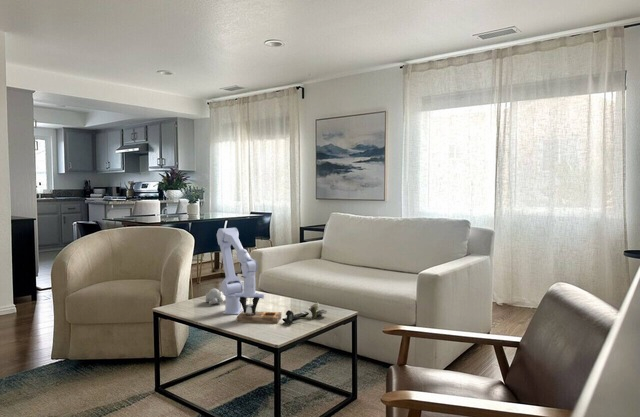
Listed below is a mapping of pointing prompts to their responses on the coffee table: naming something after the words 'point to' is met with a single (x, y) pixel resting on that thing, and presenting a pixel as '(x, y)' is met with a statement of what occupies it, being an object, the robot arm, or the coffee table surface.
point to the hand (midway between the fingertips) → (249, 312)
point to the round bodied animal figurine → (213, 296)
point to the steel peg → (249, 310)
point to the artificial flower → (314, 313)
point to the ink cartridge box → (241, 281)
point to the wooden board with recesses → (260, 317)
